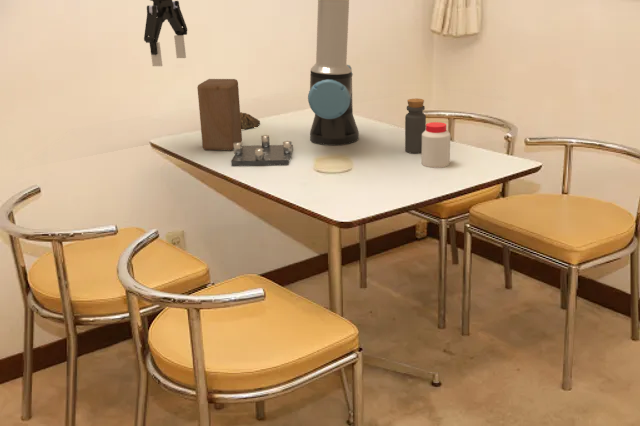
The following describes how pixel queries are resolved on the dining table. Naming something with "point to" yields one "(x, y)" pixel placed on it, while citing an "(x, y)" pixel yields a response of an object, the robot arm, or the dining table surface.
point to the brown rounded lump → (248, 121)
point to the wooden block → (219, 113)
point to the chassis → (262, 153)
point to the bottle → (414, 126)
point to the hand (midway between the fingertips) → (169, 62)
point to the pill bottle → (435, 145)
